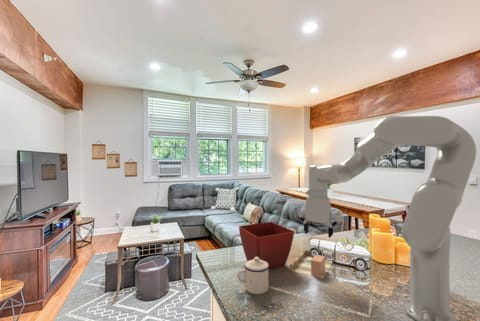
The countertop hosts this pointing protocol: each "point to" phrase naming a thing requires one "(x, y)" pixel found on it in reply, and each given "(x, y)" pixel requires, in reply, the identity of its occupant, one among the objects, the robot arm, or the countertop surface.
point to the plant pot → (267, 243)
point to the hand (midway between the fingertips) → (318, 234)
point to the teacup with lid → (256, 276)
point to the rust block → (318, 265)
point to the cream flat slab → (306, 264)
